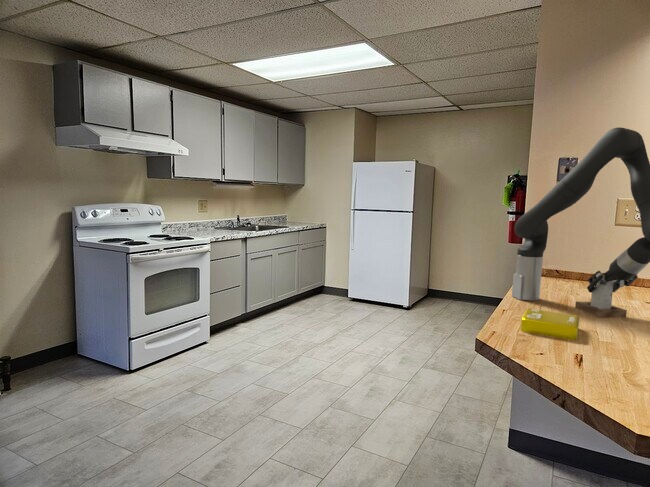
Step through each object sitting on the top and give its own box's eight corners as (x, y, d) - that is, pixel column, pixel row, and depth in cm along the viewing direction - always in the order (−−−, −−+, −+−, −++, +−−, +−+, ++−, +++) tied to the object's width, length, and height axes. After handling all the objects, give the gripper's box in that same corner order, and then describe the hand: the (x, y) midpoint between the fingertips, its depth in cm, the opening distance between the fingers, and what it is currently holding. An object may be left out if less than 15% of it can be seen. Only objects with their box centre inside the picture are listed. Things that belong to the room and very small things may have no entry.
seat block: (598, 317, 145) (599, 310, 145) (575, 308, 157) (575, 301, 157) (626, 317, 146) (626, 310, 146) (600, 308, 158) (601, 301, 158)
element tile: (576, 342, 121) (578, 326, 120) (519, 332, 129) (520, 317, 128) (578, 329, 133) (579, 314, 133) (525, 320, 141) (527, 306, 141)
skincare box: (602, 312, 148) (606, 277, 147) (589, 309, 152) (592, 275, 150) (611, 309, 151) (615, 276, 150) (598, 307, 155) (601, 274, 154)
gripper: (643, 254, 142) (613, 281, 155) (603, 254, 141) (576, 281, 153) (655, 273, 138) (623, 299, 150) (614, 273, 136) (585, 299, 149)
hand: (600, 290), depth 152 cm, fingers open, 8 cm apart
